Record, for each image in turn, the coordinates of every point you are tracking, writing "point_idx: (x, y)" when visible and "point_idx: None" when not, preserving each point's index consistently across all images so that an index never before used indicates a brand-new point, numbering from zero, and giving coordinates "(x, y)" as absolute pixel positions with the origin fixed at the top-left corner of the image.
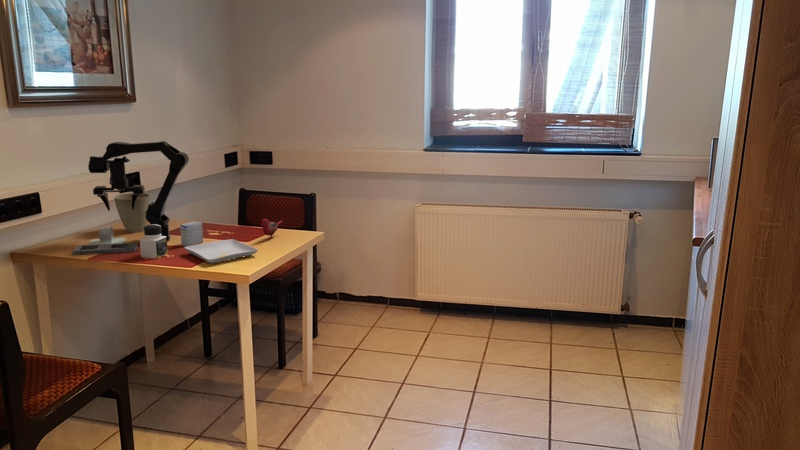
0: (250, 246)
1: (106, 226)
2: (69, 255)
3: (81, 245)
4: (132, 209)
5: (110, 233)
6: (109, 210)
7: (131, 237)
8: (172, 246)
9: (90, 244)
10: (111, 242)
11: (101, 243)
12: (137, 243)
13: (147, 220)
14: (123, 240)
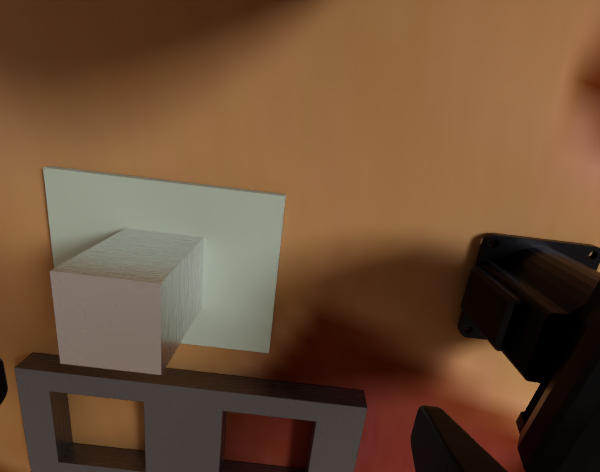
0: None
1: (106, 288)
2: None
3: (36, 379)
4: (414, 452)
5: (175, 344)
6: (4, 387)
7: (323, 150)
8: None
9: None
10: (199, 306)
11: None
12: (363, 422)
13: (523, 448)
14: (272, 275)
